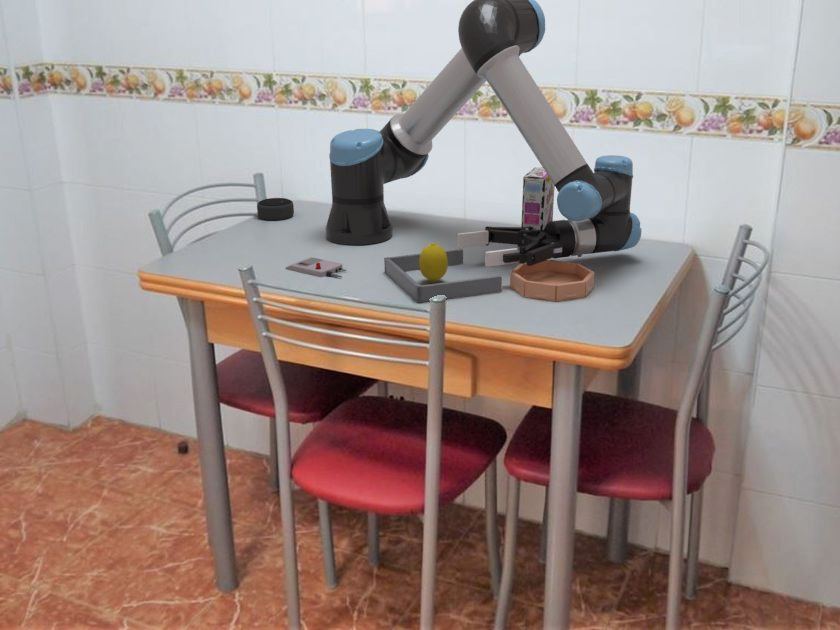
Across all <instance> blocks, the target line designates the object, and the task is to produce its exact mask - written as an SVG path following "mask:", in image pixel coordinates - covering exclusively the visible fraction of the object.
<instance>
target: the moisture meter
mask: <svg viewBox="0 0 840 630" xmlns="http://www.w3.org/2000/svg"><path fill="white" fill-rule="evenodd" d="M285 270H289V271H292V272H297V273H301V274H307V275H311V276H315V277H319V278H320V277H321V278H323V277H324V278H325V277H336V278H343V276H342V275H338V274H336V273H341V272H347V269H344V267H343V263H340V262H336V261H332V260H328V259H323V258H319V257H308V258H305V259H302V260H300V261H296V262H295V263H292V264H290V265H289V264H288V265H287V266H286V267H285Z"/></svg>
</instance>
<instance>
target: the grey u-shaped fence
mask: <svg viewBox="0 0 840 630" xmlns="http://www.w3.org/2000/svg"><path fill="white" fill-rule="evenodd" d="M444 251H445V252H446V255H447V260H448V266H447V267H449V266H454V265H455V266H456V265H462V264H464V249H463V248H458V249H448V250H444ZM420 254H421V253H413V254H406V255H398V256H390V257H389V256H388V257H387V256H386V257H383V258H384V265H383V266H384V273H385V274H386V275H387V276H388V277H389V278H390V279H391V280H393V281H394V283H396V284H397V285H398V286H399V287H400V288H402V290H404V291H405V293H406V294H407V295H409V296H410V298H412V299H413V300H414V301H415V302H416V303H418V304H420V303H427V302H428V301H429V299H430V298H432V297H434V296H437V295H445V296H446V297H447V299H446V300H449V299H457V298H465V297H466V298H467V297H471V296H473V297H474V296H478V295H480V296H481V295H488V294H493V293H501V292H503V291H502V287H503V286H502V283H503V282H502V281H503V278H502V277H503V276H502V275H493V276H492V275H491V276H484V277H483V276H482V277H476V278H469V279H461V280H453V281H446V282H445V281H444V282H438V283H431V284H424V285H420V284H419V283H418V282H417V281H416V280H415V279H413V278H412V277H411V276H410V275H409V274H408V273H406V272H407V271H414V270H415V271H416V270H420V267H419V259H420ZM429 302H430V301H429ZM429 302H428V303H429Z"/></svg>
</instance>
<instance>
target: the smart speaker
mask: <svg viewBox="0 0 840 630" xmlns="http://www.w3.org/2000/svg"><path fill="white" fill-rule="evenodd" d="M294 207H295V206H294V202H293V201H292V200H291V199H289V198H287V197H286V198H284V197H269V198H265V199H262V200H260V201H258V202H257V204H256V211H257V216H258V218H259V219H262V220H265V221H284V220H287V219H290V218H292V217H293V216H294V214H295V211H294V210H295V208H294ZM283 219H284V220H283Z"/></svg>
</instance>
